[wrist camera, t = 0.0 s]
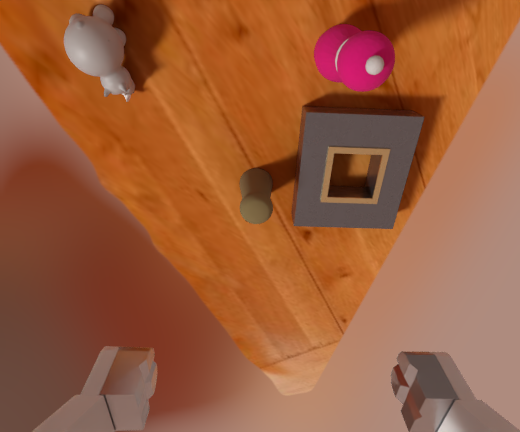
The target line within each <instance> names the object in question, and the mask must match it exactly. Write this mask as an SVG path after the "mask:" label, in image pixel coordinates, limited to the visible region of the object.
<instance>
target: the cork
mask: <svg viewBox="0 0 520 432" xmlns="http://www.w3.org/2000/svg"><path fill="white" fill-rule="evenodd" d="M272 186H273V181H272V178H271V176H270V175H269V173H268V172H266V171H265V170H263V169H259V168H253V169H250V170H247V171H246V172H245V173H244V174H243V175H242V176H241V179H240V189H241V194H242V201H241V204H240V212H241V215H242V217H243V218H244V219H245V220H246V221H248V222H249V223H253V224H260V223H263V222H265V221H267V220H268V219H269V218H270V216H271V214H272V211H273V205H272V202H271V200H270V196H271V191H272Z"/></svg>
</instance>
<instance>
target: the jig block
mask: <svg viewBox="0 0 520 432" xmlns="http://www.w3.org/2000/svg"><path fill="white" fill-rule="evenodd" d="M423 121H424V116H422V115H420V114H418V113H416V112H414V111H412V110H390V109H366V108H341V107H317V106H303V107H302V117H301V126H300V136H299V146H298V155H297V165H296V175H295V185H294V194H293V204H292V219H293V224H294V226H313V227H347V228H382V229H393V226H394V222H395V219H396V215H397V212H398V208H399V205H400V201H401V198H402V194H403V191H404V187H405V184H406V180H407V177H408V173H409V170H410V166H411V163H412V159H413V156H414V152H415V149H416V145H417V142H418V138H419V135H420V131H421V128H422V124H423ZM334 153H340V154H368V155H371V159H370V164H369V168H368V173H367V177H366V182H365V187H354V186H329V183H330V177H331V171H332V164H333V158H334Z"/></svg>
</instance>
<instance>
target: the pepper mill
mask: <svg viewBox="0 0 520 432" xmlns="http://www.w3.org/2000/svg"><path fill="white" fill-rule="evenodd" d="M314 58H315V62H316V66H317V68H318V70H319V72H320V73H321V74H322V76H324V77H325V78H326V79H328V80H331V81H334V82H343V83H344V84H345V85H346V86H347V87H348V88H350V89H352V90H355V91H362V92H364V91H370V90H373V89H375V88H377V87H379V86H380V85H381V84H383V83H384V82H385V80H386V79H387V78H388V77H389V75H390V74H391V72H392V69H393V67H394V63H395V53H394V48H393V45H392V43H391V42H390V40H389V39H388V38H387V37H386V36H385V35H383V34H382V33H380V32H377V31H371V30H368V31H361V30H360V29H358V28H357V27H355V26H352V25H349V24H339V25H336V26H334V27H332V28H330V29H329V30H327V31H326V32H325V33H324V34H322V35H321V37H320V38H319V39H318V41H317V43H316V46H315V50H314Z"/></svg>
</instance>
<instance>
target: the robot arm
mask: <svg viewBox="0 0 520 432" xmlns="http://www.w3.org/2000/svg"><path fill="white" fill-rule="evenodd" d="M154 355H155V354H154V350H153V348H138V347H137V348H136V347H111V346H105V347H104V349H103V350H102V351H101V352H100V355H99V356H98V359H97V361H96V363H95V365H94V367H93V369H92V371H91V373H90V376H89V377H88V379H87V382H86V384H85V386H84V388H83V390H82V392H81V394H80V395H75V396H74V397H72V398H71V399H70V400H69V401H68V402H67V403H65V404H64V405H63V406H62V407H60V408H59V409H58V410H57V411H56V412H55V413H54V414H52V415H51V416H50V417H49V418H47V419H46V420H45V421H44V422H43V423H42V424H40V425H39V426H38V427H37V428H36V429H35V430H33V431H32V432H115V431H117V430H143V429H144V426H145V422H146V419H147V415H148V412H149V403H148V399H149V398H150V397H151V396H152V395H153V393H154V390H155V386H156V380H157V366H156V363H155V362H154V361H153V359H154ZM397 361H398V363H399V364H397V365H396V366H395V367H393V370H392V373H391V384H392V388H393V391H394V394H395V397H396V398H397V399H398V400H399V401H400V402H401V403H402V404H403V405H402V409H401V413H402V415H403V418H404V421H405V423H406V426H407V428H408V431H409V432H520V430H519V429H517V428H516V427H515V426H514V425H512V424H511V423H510V422H509V421H507V420H506V419H505V418H504V417H502V416H501V415H499V414H498V413H497V412H496V411H495V410H493V409H492V408H491V407H490V406H488V405H487V404H486V403H484V402H483V401H482V400H477V399H476V398H475V396H474V394H473V393H472V391H471V389H470V388H469V386H468V384H467V383H466V381H465V379H464V378H463V376H462V374H461V373H460V371H459V370H458V368H457V366H456V364H455V363H454V361H453V359H452V358H451V356H450V355H449V354H448V353H445V352H400V353H399V354H398V357H397Z"/></svg>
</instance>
